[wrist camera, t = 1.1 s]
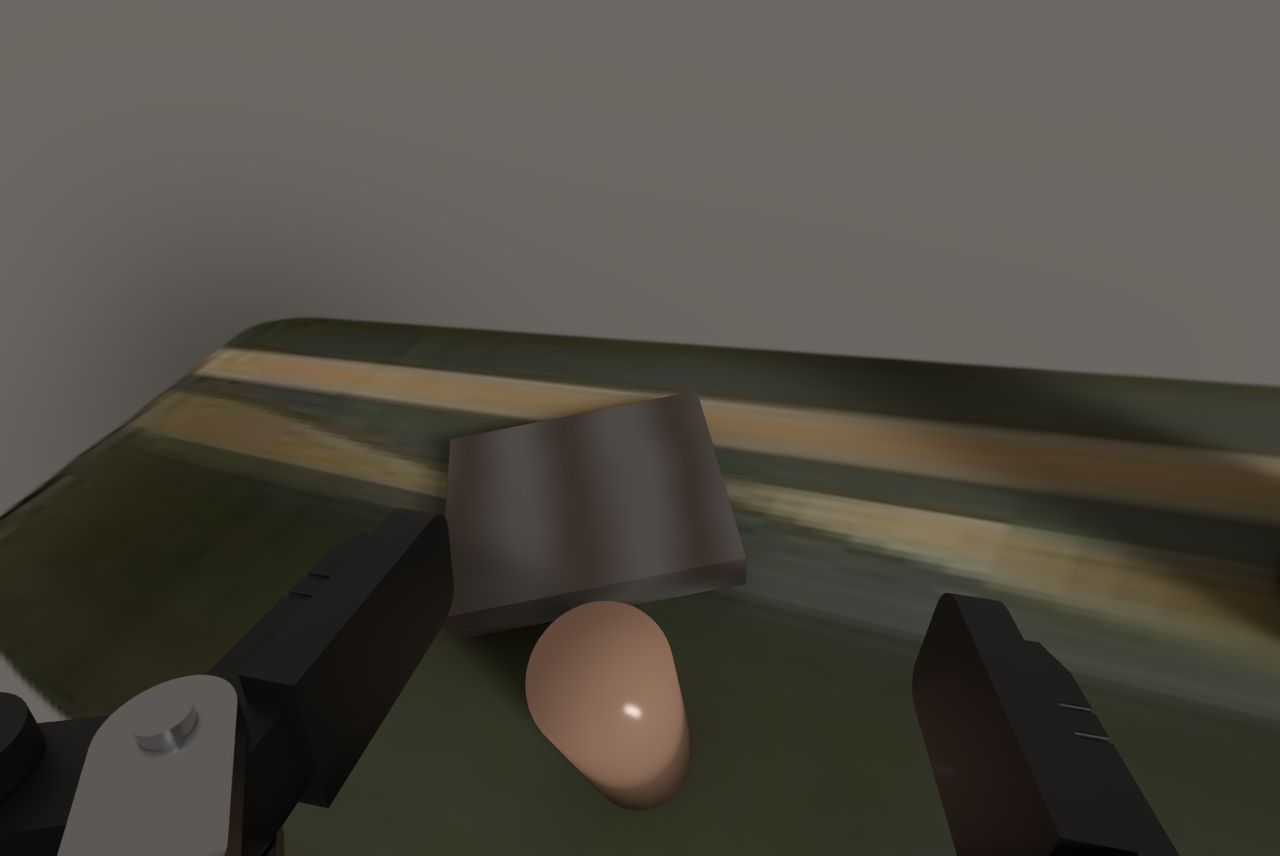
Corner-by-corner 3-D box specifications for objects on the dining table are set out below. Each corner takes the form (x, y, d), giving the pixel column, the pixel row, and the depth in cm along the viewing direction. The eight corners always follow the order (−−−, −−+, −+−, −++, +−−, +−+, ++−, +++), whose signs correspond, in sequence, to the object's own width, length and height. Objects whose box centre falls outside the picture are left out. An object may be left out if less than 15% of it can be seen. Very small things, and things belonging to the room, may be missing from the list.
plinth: (699, 421, 41) (696, 391, 38) (745, 583, 33) (746, 557, 31) (466, 466, 41) (450, 439, 38) (458, 640, 33) (437, 618, 31)
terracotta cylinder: (680, 683, 30) (660, 588, 22) (702, 798, 27) (688, 739, 18) (582, 702, 30) (523, 615, 22) (592, 820, 27) (527, 770, 18)
